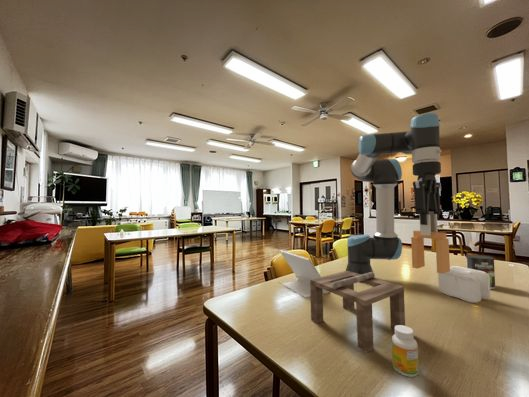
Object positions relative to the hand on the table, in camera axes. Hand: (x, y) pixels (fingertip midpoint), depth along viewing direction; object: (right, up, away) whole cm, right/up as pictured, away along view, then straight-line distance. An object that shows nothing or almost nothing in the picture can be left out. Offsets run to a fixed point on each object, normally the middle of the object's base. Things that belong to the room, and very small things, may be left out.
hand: (429, 234), depth 74 cm
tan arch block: (0, -11, 0) cm, 11 cm away
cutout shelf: (-22, -31, +3) cm, 38 cm away
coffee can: (+53, -31, +38) cm, 72 cm away
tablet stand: (-33, -33, +42) cm, 62 cm away
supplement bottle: (-19, -31, -18) cm, 40 cm away
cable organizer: (+33, -31, +24) cm, 51 cm away
